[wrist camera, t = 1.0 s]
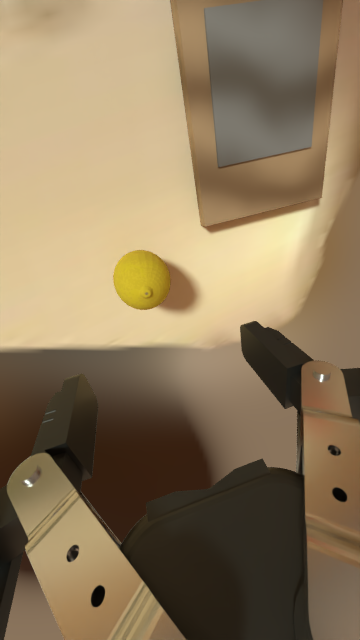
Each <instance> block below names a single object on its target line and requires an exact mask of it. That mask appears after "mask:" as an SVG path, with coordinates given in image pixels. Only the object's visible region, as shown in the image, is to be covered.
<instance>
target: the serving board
mask: <svg viewBox="0 0 360 640" xmlns="http://www.w3.org/2000/svg"><path fill="white" fill-rule="evenodd" d="M170 2H171V9H172V16H173V24H174V31H175V38H176V46H177V53H178V60H179V68H180V75H181V83H182V90H183V97H184V105H185V112H186V119H187V127H188V134H189V141H190V149H191V156H192V163H193V171H194V178H195V185H196V193H197V200H198V207H199V215H200V222H201V225H202V226H205V227H206V226H210V225H214V224H218V223H222V222H226V221H230V220H234V219H238V218H242V217H246V216H250V215H254V214H258V213H262V212H266V211H270V210H274V209H278V208H282V207H286V206H290V205H294V204H298V203H302V202H306V201H310V200H314V199H318V198H322V189H323V180H324V171H325V161H326V152H327V143H328V134H329V124H330V115H331V106H332V97H333V87H334V78H335V69H336V60H337V50H338V41H339V32H340V23H341V13H342V4H343V0H170Z"/></svg>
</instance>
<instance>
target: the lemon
mask: <svg viewBox="0 0 360 640" xmlns="http://www.w3.org/2000/svg"><path fill="white" fill-rule="evenodd" d="M113 278H114V286H115V289H116V292H117V294H118V295H119V297H120V298H121V299H122V300H123V301H124V302H125V303H126V304H127V305H129V306H131V307H133V308H136V309H140V310H147V309H152V308H154V307H156V306H158V305H159V304H161V303H162V302H163V301H164V299H165V298H166V297H167V294H168V292H169V289H170V274H169V271H168V268H167V266H166V265H165V263H164V262H163V260H162V259H161V258H159V257H158V256H157V255H155V254H153V253H151V252H149V251H144V250H136V251H133V252H129V253H128V254H126V255H125V256H123V257H122V258H121V259H120V260H119V262H118V263H117V265H116V267H115V271H114V275H113Z"/></svg>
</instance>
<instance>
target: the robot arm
mask: <svg viewBox="0 0 360 640" xmlns="http://www.w3.org/2000/svg"><path fill="white" fill-rule="evenodd" d="M240 332H241V346H242V352H243V355H244V358H245V359H246V361H247V362H248V363H249V365H250V366H251V367H252V368H253V370H254V371H255V372H256V373H257V375H258V376H259V377H260V378H261V380H262V381H263V382H264V383H265V385H266V386H267V387H268V388H269V390H270V391H271V392H272V393H273V395H274V396H275V397H276V398H277V400H278V401H279V402H280V403H281V405H282V406H283V407H284V408H285V409H286V408H289V407H292V406H294V407H295V408H296V409H297V461H296V472H294V471H291V470H287V469H283V468H275V467H267V466H266V464H265V462H264V461H263V459H260V460H257V461H255V462H252V463H249V464H247V465H244V466H242V467H239V468H237V469H234V470H233V471H232V472H231V473H229V474H228V475H227V476H225V477H224V478H223V479H221V480H220V481H219V482H218V483H216V484H215V485H214V486H212V487H211V488H209V489H205V490H191V491H177V492H174V493H171V494H168V495H166V496H163V497H161V498H158V499H155V500H153V501H150V502H148V503H146V506H147V514H146V515H145V516H144V517H143V518H142V519H141V520H140V521H139V522H137V523H136V525H135V526H134V527H133V528H132V529H131V530H130V532H129V533H128V535H127V536H126V538H125V539H124V541H123V542H122V544H121V543H120V541H119V540H118V539H117V538H116V536H115V535H114V534H113V533H112V531H111V530H110V529H109V528H108V527H107V525H106V524H105V522H104V521H103V520H102V519H101V517H100V516H99V515H98V513H97V512H96V511H95V510H94V508H93V507H92V506H91V504H90V503H89V502H88V501H87V499H86V498H85V497H84V495H83V494H82V493H81V483H82V481H84V480H86V479H89V478H92V471H93V460H94V449H95V437H96V425H97V415H98V403H97V398H96V396H95V394H94V392H93V390H92V388H91V387H90V384H89V383H88V381H87V379H86V377H85V376H84V375H83V374H79V375H76V376H72V377H69V378H66V379H65V380H64V384H63V387H62V390H61V392H57V393H56V394H55V395H54V396H53V398H52V399H51V400H50V402H49V403H48V406H47V409H46V412H45V415H44V418H43V421H42V422H43V424H41V427H40V430H39V433H38V436H37V439H36V442H35V445H34V448H33V451H32V454H31V457H29V458H28V459H26V460H25V461H24V462H22V464H20V465H19V466H18V468H17V469H16V470H15V471H14V472H13V474H12V475H11V477H10V479H9V482H8V484H7V485H6V486H4V487H3V488H1V489H0V640H4V636H5V632H6V627H7V623H8V618H9V614H10V609H11V605H12V600H13V596H14V591H15V587H16V582H17V578H18V573H19V569H20V564H21V559H22V555H23V551H25V550H26V552H27V555H28V557H29V560H30V562H31V564H32V567H33V569H34V571H35V573H36V576H37V578H38V581H39V583H40V585H41V587H42V590H43V592H44V594H45V597H46V599H47V601H48V604H49V606H50V608H51V610H52V613H53V615H54V617H55V619H56V622H57V624H58V626H59V629H60V631H61V633H62V635H63V638H64V640H360V368H353V369H339V368H338V367H336V366H335V365H333V364H331V363H328V362H325V361H314V360H313V359H312V358H310V357H309V356H308V355H307V354H306V353H304V352H303V351H301V349H299V348H298V347H297V346H296V345H294V344H293V343H291V341H290V340H288V339H287V338H285V336H284V335H282V334H281V333H280V332H279V331H277V330H274V329H272V328H269V327H267V328H264V327H263V326H261V325H260V324H259V323H258V322H257V321H253V322H250V323H246V324H243V325H241V327H240Z"/></svg>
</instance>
